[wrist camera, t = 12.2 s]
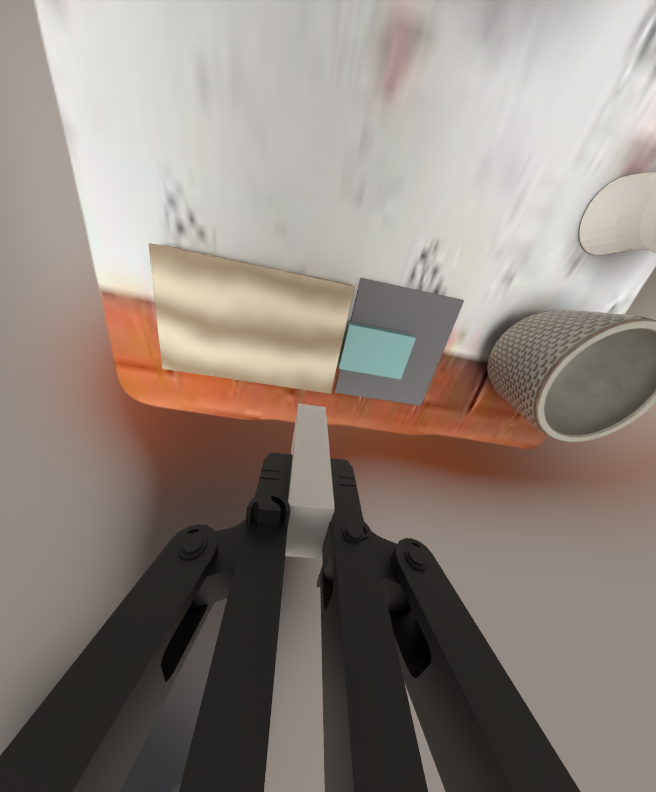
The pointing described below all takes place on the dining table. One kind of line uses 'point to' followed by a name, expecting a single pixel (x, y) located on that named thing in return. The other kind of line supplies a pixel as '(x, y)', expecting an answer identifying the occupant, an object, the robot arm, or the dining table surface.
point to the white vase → (621, 216)
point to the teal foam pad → (375, 350)
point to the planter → (577, 371)
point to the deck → (247, 320)
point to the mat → (405, 314)
